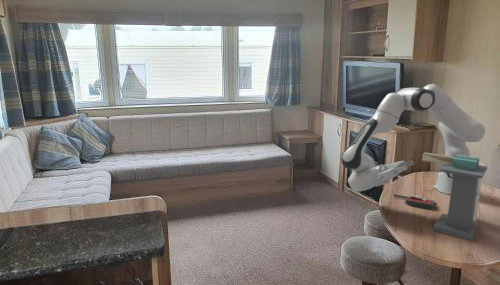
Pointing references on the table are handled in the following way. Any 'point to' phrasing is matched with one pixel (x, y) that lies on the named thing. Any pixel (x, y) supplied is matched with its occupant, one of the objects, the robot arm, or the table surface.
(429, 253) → the table surface
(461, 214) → the stand
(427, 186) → the table surface
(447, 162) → the tan and teal block
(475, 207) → the cylindrical container
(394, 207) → the table surface
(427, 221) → the table surface
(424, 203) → the walkie-talkie
